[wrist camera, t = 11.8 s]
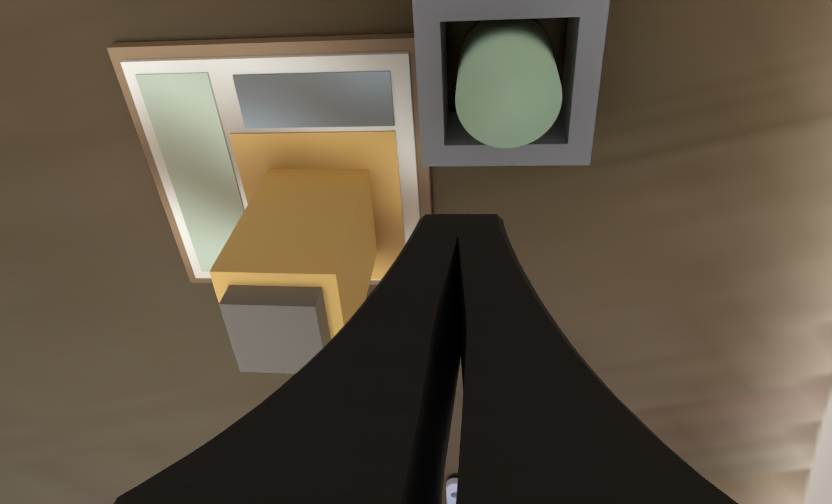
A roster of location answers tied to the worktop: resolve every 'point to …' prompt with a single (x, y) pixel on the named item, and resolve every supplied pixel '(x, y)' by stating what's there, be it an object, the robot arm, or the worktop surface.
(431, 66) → the button housing
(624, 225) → the worktop surface
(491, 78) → the button
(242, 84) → the compartment tray
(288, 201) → the block
